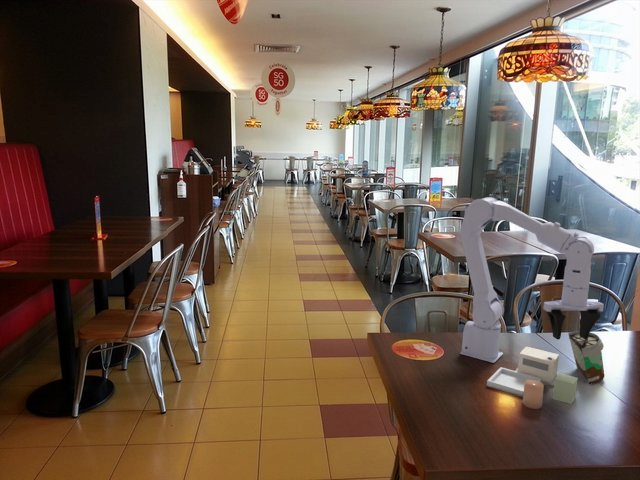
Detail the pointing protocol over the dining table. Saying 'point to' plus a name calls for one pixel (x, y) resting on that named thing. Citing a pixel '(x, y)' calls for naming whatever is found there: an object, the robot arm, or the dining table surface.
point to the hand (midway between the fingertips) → (569, 337)
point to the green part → (565, 388)
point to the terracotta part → (533, 394)
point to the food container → (588, 356)
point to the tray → (510, 381)
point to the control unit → (539, 364)
